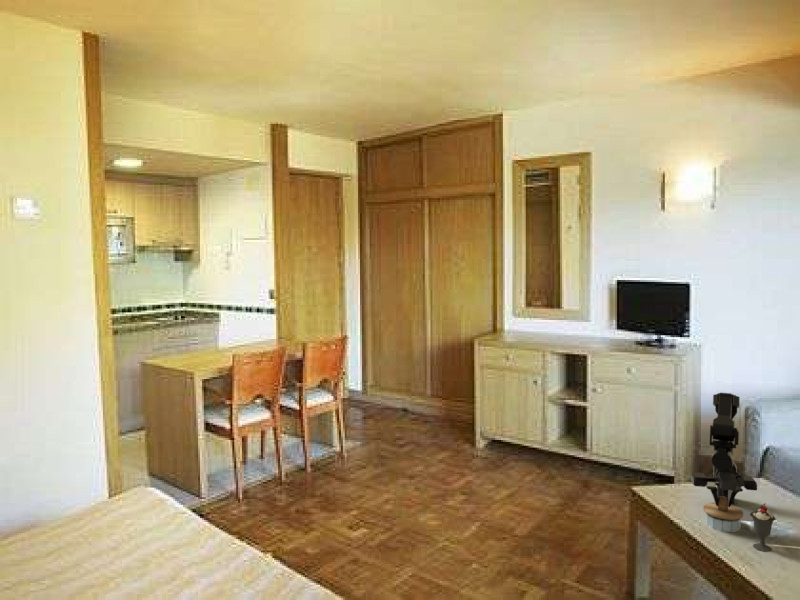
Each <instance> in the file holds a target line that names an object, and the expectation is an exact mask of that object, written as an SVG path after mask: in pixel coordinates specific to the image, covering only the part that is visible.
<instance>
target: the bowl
mask: <svg viewBox="0 0 800 600" xmlns="http://www.w3.org/2000/svg"><path fill="white" fill-rule="evenodd" d="M704 513H705V523H706V525H707V526H708V527H709V528H710V529H714V530H716V531H720V532H723V533H724V532H725V533H735V532H738V531H740V530H741V527H742V525H741V523H742V521H741V518H740V519H737V520H726V519H720V518H716V517H713V516H711V515H709V514H707V513H706V512H704Z"/></svg>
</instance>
